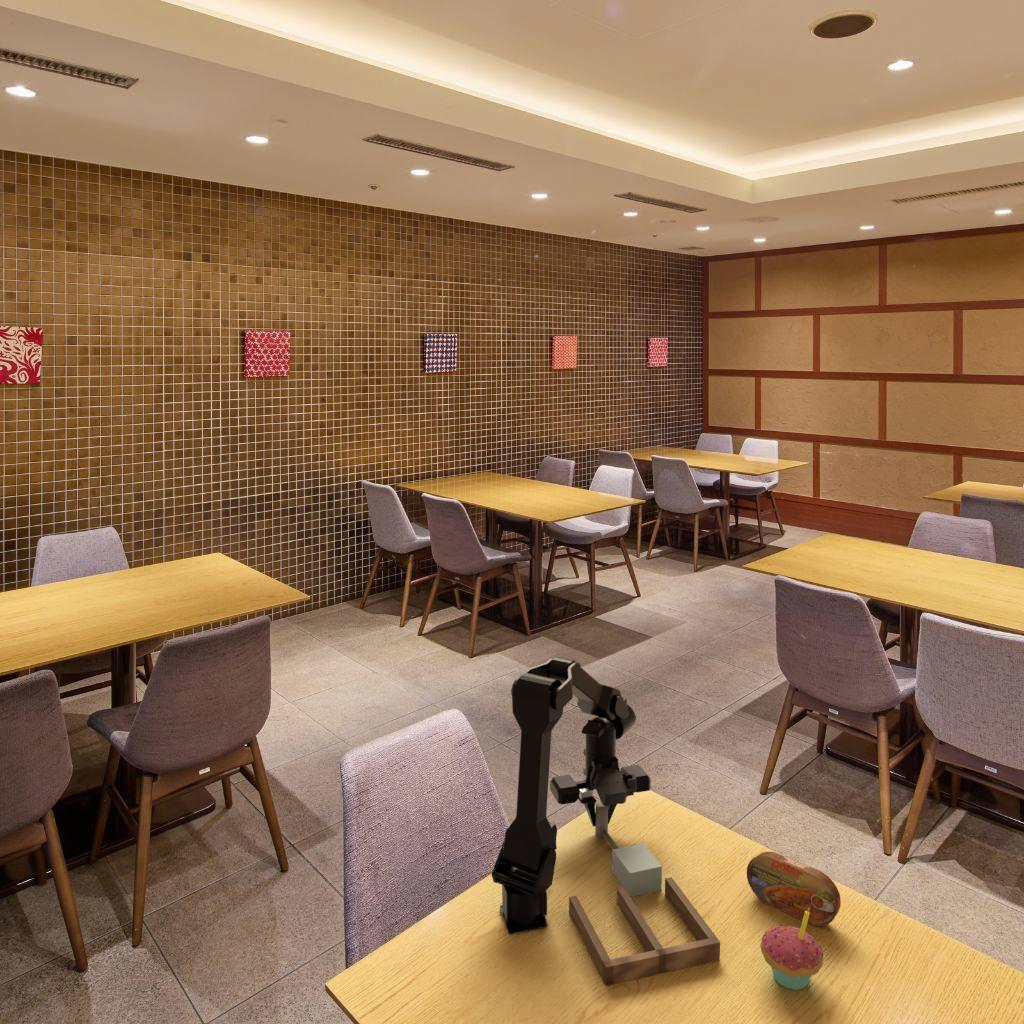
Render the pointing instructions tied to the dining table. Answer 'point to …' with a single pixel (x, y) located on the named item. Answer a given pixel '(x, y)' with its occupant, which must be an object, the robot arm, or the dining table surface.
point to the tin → (794, 888)
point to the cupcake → (792, 954)
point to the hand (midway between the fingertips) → (600, 824)
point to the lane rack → (648, 939)
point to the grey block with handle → (630, 861)
